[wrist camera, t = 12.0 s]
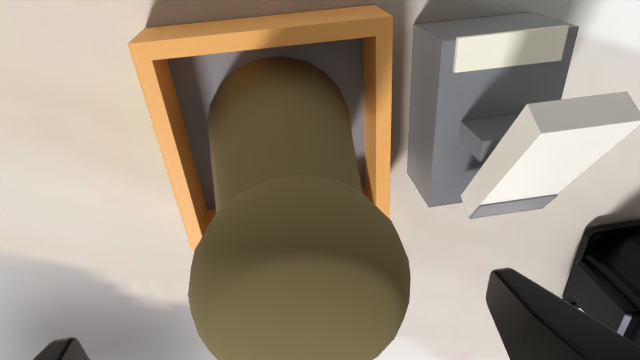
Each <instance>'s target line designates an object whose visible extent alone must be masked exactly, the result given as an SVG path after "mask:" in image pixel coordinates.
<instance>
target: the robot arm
mask: <svg viewBox="0 0 640 360" xmlns="http://www.w3.org/2000/svg"><path fill="white" fill-rule="evenodd" d="M486 302H487V305H488V308H489V310H490V313H491V315H492V318H493V320H494V322H495V325H496V327H497V329H498V332H499V334H500V337H501V339H502V341H503V344H504V346H505V348H506V351H507V353H508V356H509V358H510V360H640V220H636V221H630V222H623V223H616V224H610V225H603V226H597V227H592V228H590V229H588V230H587V231H586V232H585V234H584V236H583V239H582V242H581V245H580V248H579V251H578V254H577V257H576V260H575V263H574V266H573V269H572V272H571V275H570V278H569V281H568V284H567V287H566V290H565V293H564V296H563V299H561V298H560V297H558V296H556V295H555V294H553V293H551V292H550V291H548V290H546V289H545V288H543V287H541V286H540V285H538V284H537V283H535V282H533V281H532V280H530V279H528V278H527V277H525V276H523V275H522V274H520V273H519V272H517V271H515V270H513V269H511V268H503V269H496V270H493V271H492V272H491V273H490V277H489V282H488V287H487V292H486ZM578 308H581V309H582V310H583V311H584V312H585V313H584V312H582V311H581V310H579V309H578ZM33 360H90V359H89V357H88V355H87V354H86V352H85V351H84V349H83V347H82V345H81V344H80V342H79V340H78V339H77V338H75V337H68V338H61V339H56V340H54V341H52V342H51V343H49V345H47V346H46V347H45V348H44V349H43V350H42V351H41V352H40V353H39V354H38V355H37V356H36V357H35V358H34V359H33Z"/></svg>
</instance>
